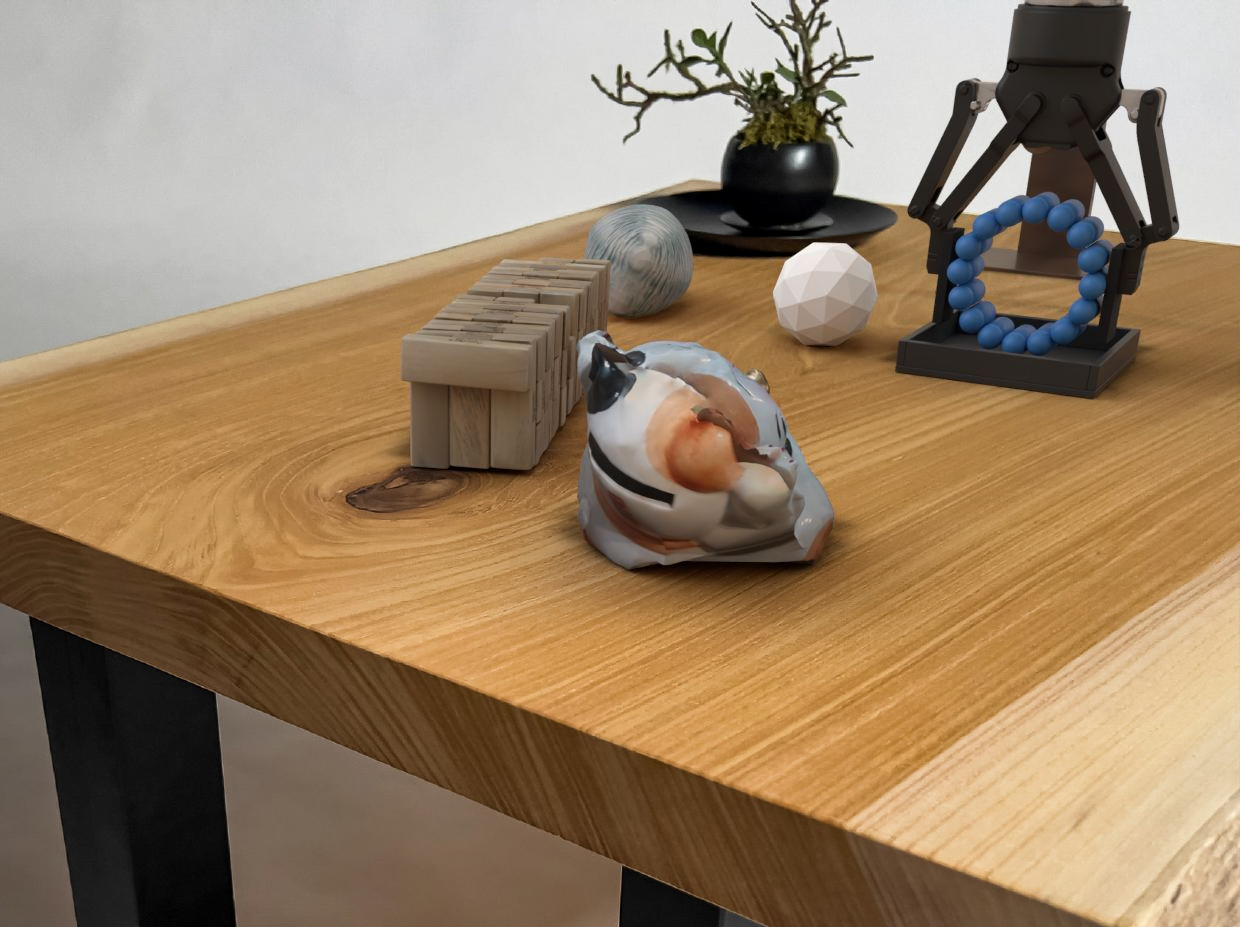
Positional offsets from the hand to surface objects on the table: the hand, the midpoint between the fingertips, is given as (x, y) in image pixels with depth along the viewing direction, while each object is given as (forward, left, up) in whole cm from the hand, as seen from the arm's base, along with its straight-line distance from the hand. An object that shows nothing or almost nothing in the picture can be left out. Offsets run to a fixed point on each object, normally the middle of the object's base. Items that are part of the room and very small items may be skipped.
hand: (1021, 329), depth 118 cm
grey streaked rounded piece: (+33, -3, -3) cm, 33 cm away
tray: (0, 0, -3) cm, 3 cm away
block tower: (+25, +31, -3) cm, 40 cm away
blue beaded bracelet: (0, 0, +4) cm, 4 cm away
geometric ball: (+15, +1, -3) cm, 15 cm away
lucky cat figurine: (+3, +49, -3) cm, 49 cm away
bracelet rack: (+8, -36, -3) cm, 37 cm away
